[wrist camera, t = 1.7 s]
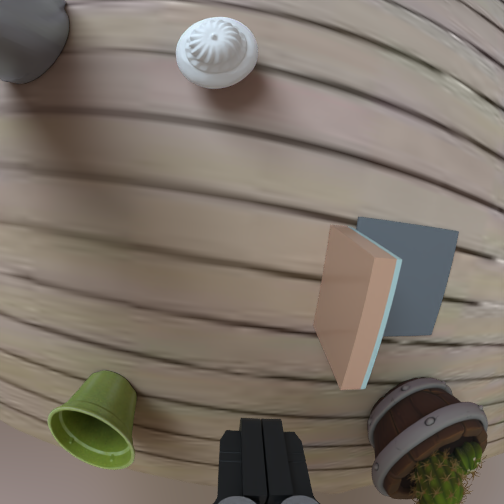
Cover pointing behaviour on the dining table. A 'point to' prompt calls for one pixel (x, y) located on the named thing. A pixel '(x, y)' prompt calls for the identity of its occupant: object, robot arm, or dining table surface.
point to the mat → (414, 272)
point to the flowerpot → (425, 442)
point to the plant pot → (98, 422)
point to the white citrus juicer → (216, 52)
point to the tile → (354, 303)
